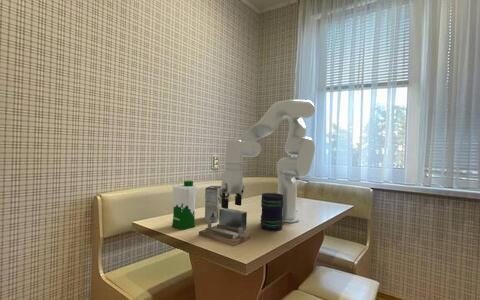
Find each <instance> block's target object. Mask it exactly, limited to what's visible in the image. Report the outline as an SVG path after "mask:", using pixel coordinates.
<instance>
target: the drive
mask: <svg viewBox="0 0 480 300" xmlns="http://www.w3.org/2000/svg"><path fill="white" fill-rule="evenodd" d="M247 214H248V212H247V211H243V210H239V209H233V208H228V209H226V208H222V209H219V221H218V224H220V225H224V226H228V227H232V228H236V229H238V228H240V227H241V228H243V232H246V231H247V216H248V215H247Z"/></svg>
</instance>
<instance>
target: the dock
mask: <svg viewBox="0 0 480 300" xmlns="http://www.w3.org/2000/svg"><path fill="white" fill-rule="evenodd" d="M198 236H200V237H203V238H207V239H210V240H212V241H213V240H214V241H217V242H220V243H225V244H228V245H231V246H237V245H239V244H241V243H243V242H245V241H248V240H249V239H251V234H250V233H249V234H248V233H244V231H243V228H241V227H240V228H238V229H236V228H232V227H228V226H224V225H220V224H219V223H218V224H216V225H214V226H213V225H212V221H211V220H208V221H207V227H205V228H204V229H203V230H200V231H199V230H198Z"/></svg>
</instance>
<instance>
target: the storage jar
mask: <svg viewBox="0 0 480 300" xmlns="http://www.w3.org/2000/svg"><path fill="white" fill-rule="evenodd" d="M260 205H261V215H260V229H261V230H263V231H267V232H280V231H282V230H283V225H284V222H283V216H282V208H283V195H282V194H278V192H277V193H275V192H265V193H262V194H261V202H260Z"/></svg>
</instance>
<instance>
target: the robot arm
mask: <svg viewBox="0 0 480 300" xmlns="http://www.w3.org/2000/svg"><path fill="white" fill-rule="evenodd" d="M315 110H316V107H315V105H314V103H313V102H312V101H311V100H309V99H307V100H305V99H286V100H285V99H284V100H280V101H276V102H274V103H272V104H271V106H270V107H269V108H268V109H267V111H266V112H265V113H264V115H262V117H261V118H260V120H259V121H258V122H256V123H255V124H253V125H252V126H251V127H249V128H248V129H247V130H246V131H244V133H242V134H241V136H239V138H238V139H236V138H235V139H227V141H226V144H225V145H226V147H225V163H224V164H225V165H224V167H225V168H224V170H223V174H222V180H221V185H220V186H221V188H220V189H219V192H220V196H221V198H222V205H221V207H222V209H223V208H226V209H229V202H230V201H229V197H230V195H235V196H234V205H235V206H239V207H240V206H241V205H242V197H243V194H244V191H245V185H244V184H243V181H244V180H243V162H244V161H243V159H244V157H247V158H255V157H257V156H258V155H260V153H261V152H262V146H261V144H260V143H259V142H258V141H259V140H260V139H263V138H265V137H268V136H269V135H271V134H273V133H274V132H275V130H276V129H277V128H278V126H279V125H280V124H281V122H282V121H283V120H284V119H287V120H288V121H287V122H288V123H289V129H288V135H287V139H286V142H285V143H284V144H285V145H284V152H285V153H286V154H287V155H289V156H285V157H284V156H283V157H281V158H280V159H278V161H277V163H276V175H277V194H282V195H283V208H282V216H283V223H297V222H299V221H300V217H299V216H297V213H298V212H299V211H298V209H297V200H298V199H297V198H298V197H297V196H298V183H297V180H296V178H305V177H307V176H308V175H309V173H310V170H311V167H312V164H313V160H314V155H315V153H316V152H315V151H316V145H315V141H314V139H312V138H311V137H308V136H306V133H307V127H306V124H305V121H304V120H303V119H309V118H311V117H312V116H314V114H315ZM291 156H296V157H291Z"/></svg>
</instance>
